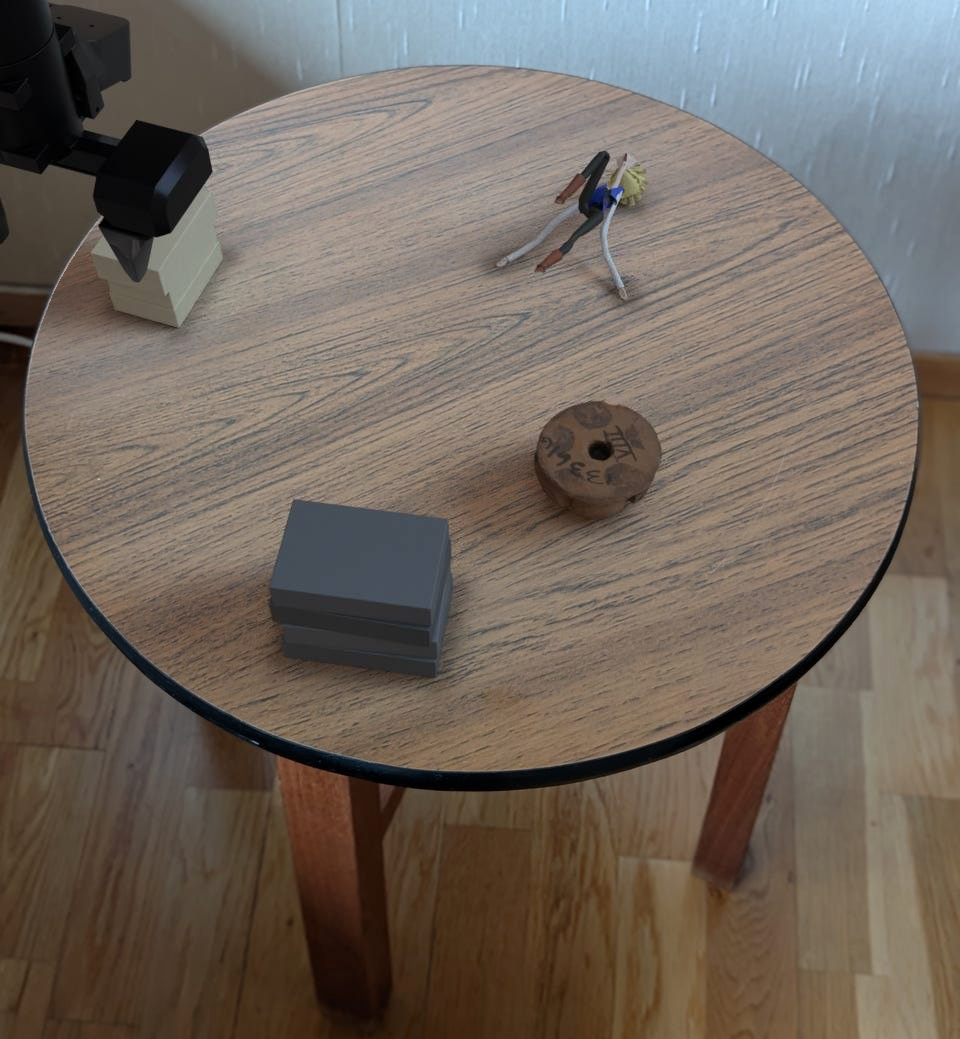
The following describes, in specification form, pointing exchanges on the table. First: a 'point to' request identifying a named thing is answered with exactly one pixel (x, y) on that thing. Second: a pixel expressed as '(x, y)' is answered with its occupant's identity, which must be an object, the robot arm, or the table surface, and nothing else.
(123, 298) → the sage lidded box
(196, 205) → the cream block
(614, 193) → the figurine
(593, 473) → the artifact
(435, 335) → the table surface
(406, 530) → the grey stack
